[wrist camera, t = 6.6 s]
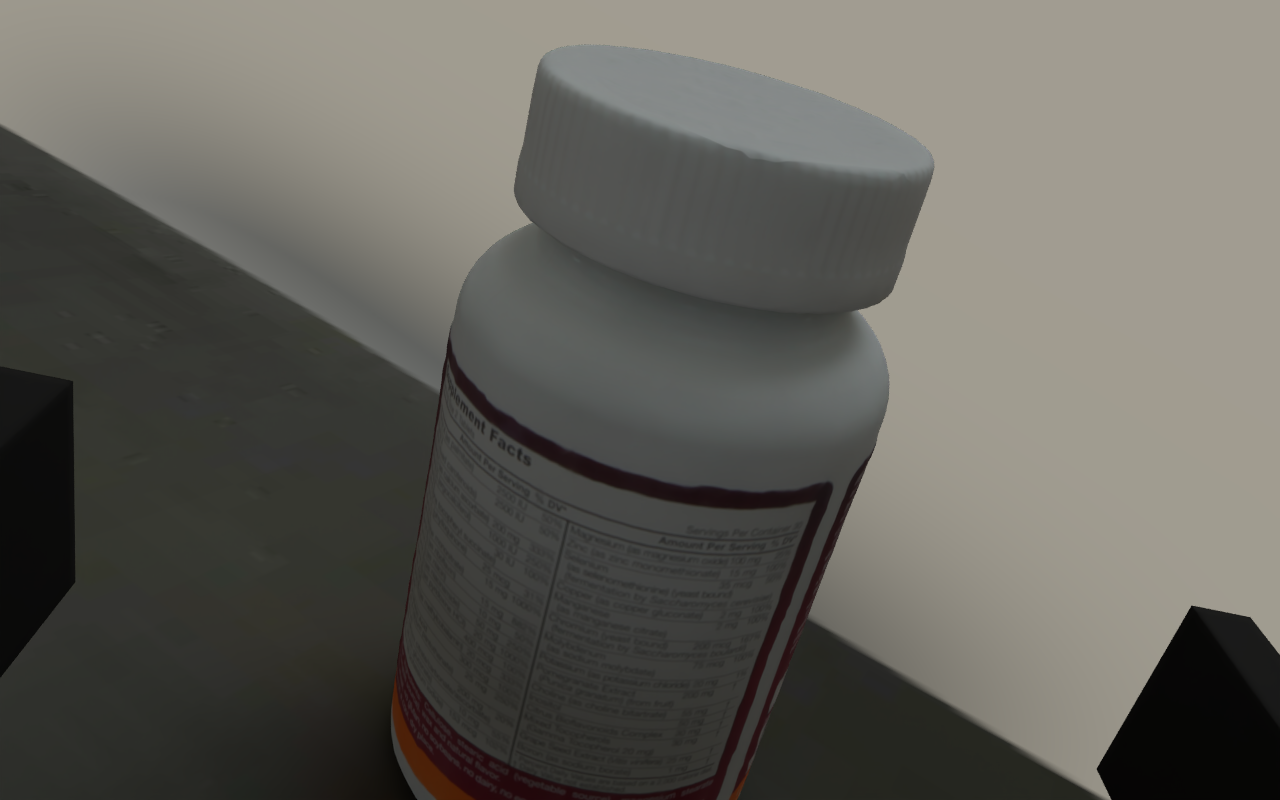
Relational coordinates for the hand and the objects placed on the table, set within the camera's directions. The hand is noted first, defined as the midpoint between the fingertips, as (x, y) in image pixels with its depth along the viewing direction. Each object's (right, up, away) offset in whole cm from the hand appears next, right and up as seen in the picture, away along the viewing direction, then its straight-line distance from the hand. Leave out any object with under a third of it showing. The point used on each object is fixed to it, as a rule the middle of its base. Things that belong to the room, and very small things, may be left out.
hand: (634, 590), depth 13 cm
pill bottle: (-1, -4, +6) cm, 7 cm away
